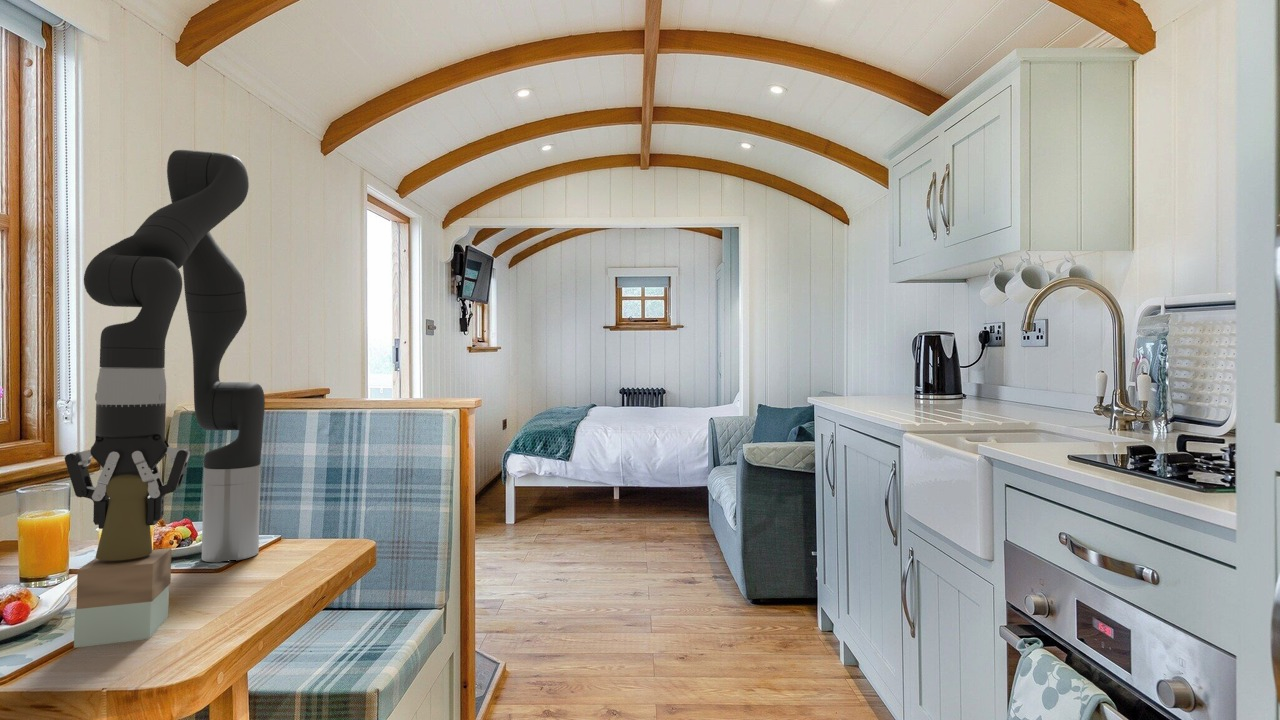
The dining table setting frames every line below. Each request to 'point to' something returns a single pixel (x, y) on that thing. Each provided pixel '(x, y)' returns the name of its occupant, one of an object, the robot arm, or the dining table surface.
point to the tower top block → (123, 580)
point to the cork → (125, 520)
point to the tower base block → (120, 622)
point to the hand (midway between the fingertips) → (128, 525)
